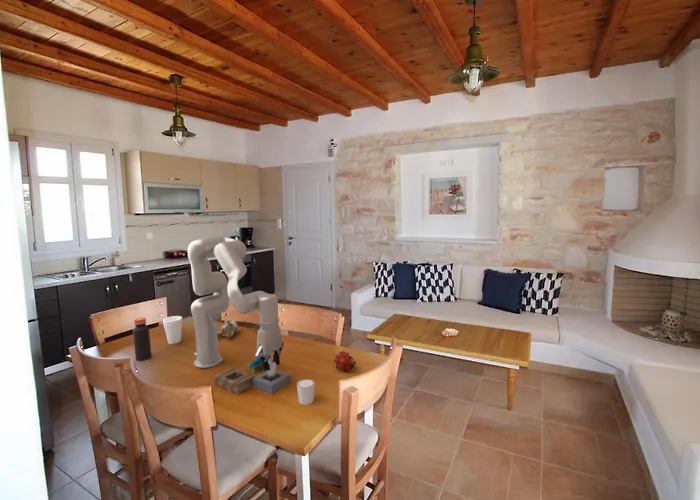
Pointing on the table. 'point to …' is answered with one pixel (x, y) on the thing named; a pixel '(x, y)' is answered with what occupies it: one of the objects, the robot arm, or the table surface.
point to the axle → (271, 370)
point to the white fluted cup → (306, 391)
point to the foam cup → (173, 328)
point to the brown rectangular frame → (234, 380)
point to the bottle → (141, 339)
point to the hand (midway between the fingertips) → (271, 366)
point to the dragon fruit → (344, 361)
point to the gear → (257, 363)
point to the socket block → (269, 386)
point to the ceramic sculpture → (228, 329)
